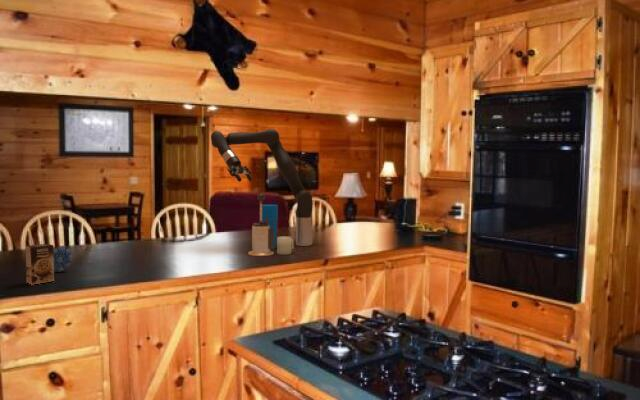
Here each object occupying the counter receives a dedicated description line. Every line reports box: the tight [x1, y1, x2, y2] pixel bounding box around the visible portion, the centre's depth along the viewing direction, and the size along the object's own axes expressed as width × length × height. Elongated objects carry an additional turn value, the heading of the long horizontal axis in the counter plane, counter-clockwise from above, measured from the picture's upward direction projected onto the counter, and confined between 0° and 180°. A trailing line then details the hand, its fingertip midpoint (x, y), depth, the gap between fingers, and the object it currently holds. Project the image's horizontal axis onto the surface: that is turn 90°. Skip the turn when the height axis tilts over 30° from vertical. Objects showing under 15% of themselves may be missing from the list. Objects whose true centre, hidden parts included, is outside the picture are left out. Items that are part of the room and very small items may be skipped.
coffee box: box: [25, 243, 55, 286], centre depth 228 cm, size 9×6×16 cm
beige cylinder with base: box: [247, 222, 275, 257], centre depth 299 cm, size 14×14×17 cm
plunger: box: [257, 193, 266, 224], centre depth 298 cm, size 5×5×22 cm
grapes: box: [53, 245, 74, 273], centre depth 249 cm, size 12×7×12 cm, turn 120°
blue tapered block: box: [262, 204, 279, 249], centre depth 321 cm, size 11×11×25 cm
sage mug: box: [276, 235, 295, 255], centre depth 303 cm, size 9×8×9 cm
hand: (246, 180), depth 304 cm, fingers open, 8 cm apart
